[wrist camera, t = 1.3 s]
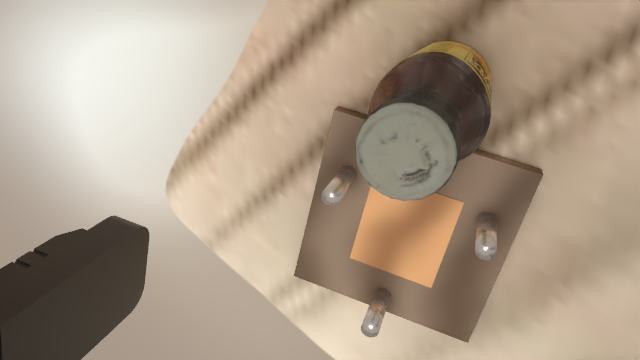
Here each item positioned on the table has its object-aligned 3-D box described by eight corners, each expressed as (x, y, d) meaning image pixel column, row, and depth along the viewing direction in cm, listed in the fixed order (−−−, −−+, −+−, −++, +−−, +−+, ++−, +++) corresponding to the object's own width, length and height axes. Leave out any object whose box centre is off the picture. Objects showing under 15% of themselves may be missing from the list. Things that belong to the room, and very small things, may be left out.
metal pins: (499, 215, 38) (499, 246, 34) (451, 328, 43) (446, 367, 39) (342, 163, 41) (323, 185, 37) (313, 275, 46) (293, 306, 41)
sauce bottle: (484, 127, 38) (475, 255, 20) (400, 118, 39) (324, 228, 22) (499, 36, 35) (503, 91, 18) (409, 30, 37) (331, 74, 19)
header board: (541, 169, 38) (542, 175, 36) (468, 334, 44) (467, 343, 43) (338, 106, 41) (333, 110, 40) (298, 269, 47) (293, 276, 46)
